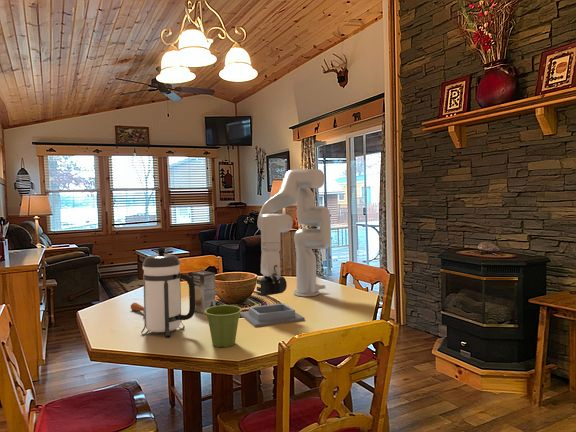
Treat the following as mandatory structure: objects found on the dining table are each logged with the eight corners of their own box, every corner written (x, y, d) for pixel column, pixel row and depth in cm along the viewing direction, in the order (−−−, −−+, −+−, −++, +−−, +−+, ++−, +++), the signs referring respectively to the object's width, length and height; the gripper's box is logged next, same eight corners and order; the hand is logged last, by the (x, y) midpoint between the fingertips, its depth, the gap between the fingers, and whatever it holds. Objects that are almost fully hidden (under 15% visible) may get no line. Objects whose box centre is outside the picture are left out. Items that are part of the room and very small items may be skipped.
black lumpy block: (265, 298, 164) (265, 280, 164) (255, 294, 170) (255, 277, 170) (287, 294, 170) (287, 277, 170) (276, 291, 176) (276, 274, 175)
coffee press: (143, 342, 143) (141, 251, 142) (139, 328, 158) (137, 246, 156) (196, 335, 150) (194, 248, 148) (187, 322, 165) (185, 243, 163)
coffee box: (190, 310, 183) (190, 272, 182) (203, 307, 187) (202, 270, 187) (203, 314, 176) (203, 274, 176) (216, 311, 181) (215, 272, 180)
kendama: (142, 299, 187) (163, 304, 172) (140, 313, 186) (161, 319, 171) (128, 299, 183) (148, 304, 168) (126, 313, 182) (146, 319, 167)
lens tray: (286, 309, 183) (286, 301, 182) (304, 320, 166) (304, 311, 166) (240, 314, 175) (240, 306, 175) (254, 327, 158) (254, 317, 158)
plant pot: (198, 348, 137) (197, 312, 136) (217, 336, 148) (216, 303, 148) (231, 352, 133) (230, 316, 132) (248, 340, 144) (248, 306, 143)
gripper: (254, 244, 176) (254, 288, 176) (269, 249, 160) (270, 296, 160) (271, 244, 179) (272, 286, 179) (288, 248, 163) (288, 294, 163)
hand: (271, 291), depth 170 cm, fingers closed on black lumpy block, 8 cm apart
